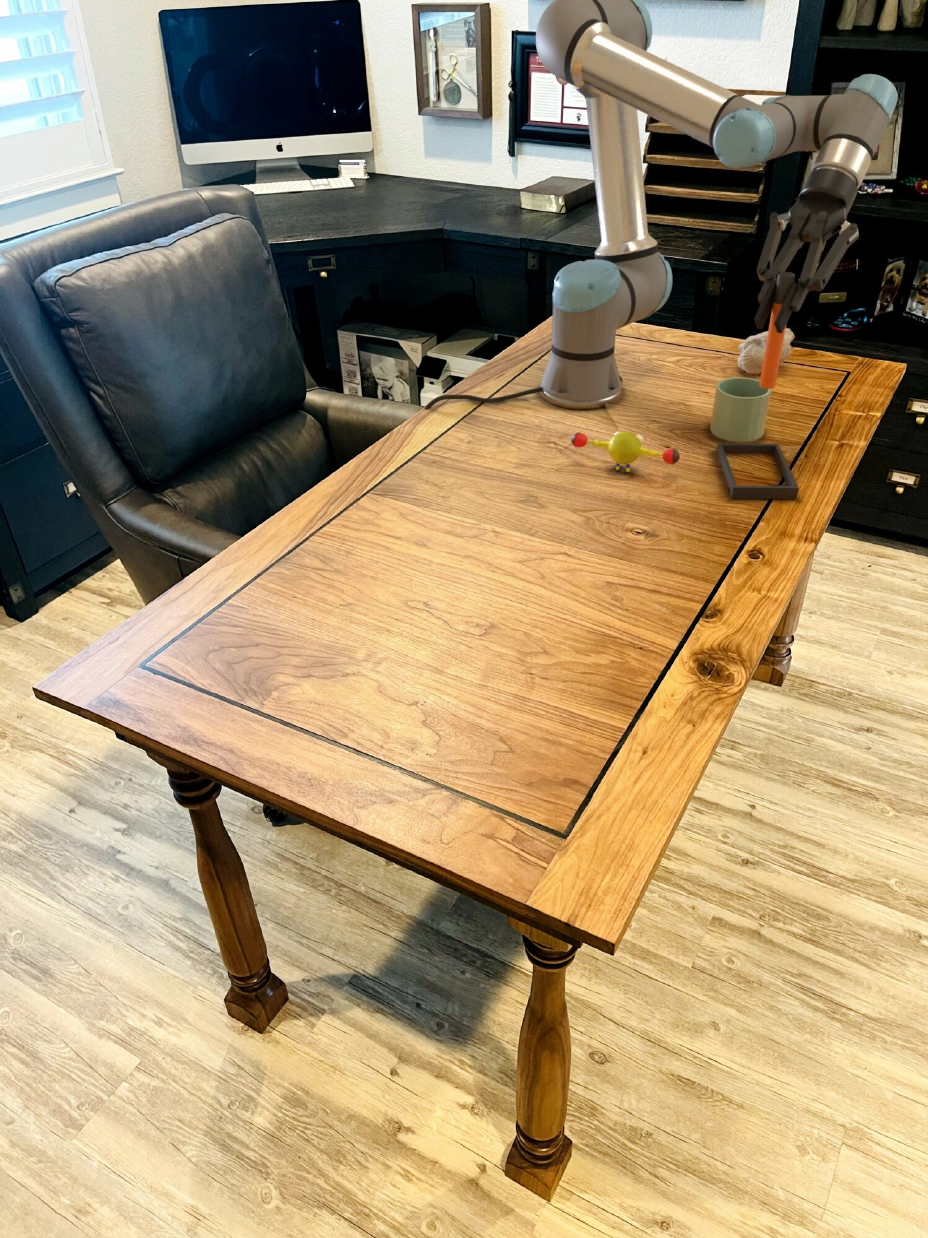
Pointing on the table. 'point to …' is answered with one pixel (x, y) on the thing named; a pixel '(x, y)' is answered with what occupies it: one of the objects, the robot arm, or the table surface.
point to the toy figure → (625, 449)
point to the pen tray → (758, 491)
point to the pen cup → (739, 409)
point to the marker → (775, 333)
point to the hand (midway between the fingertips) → (768, 325)
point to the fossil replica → (760, 351)
